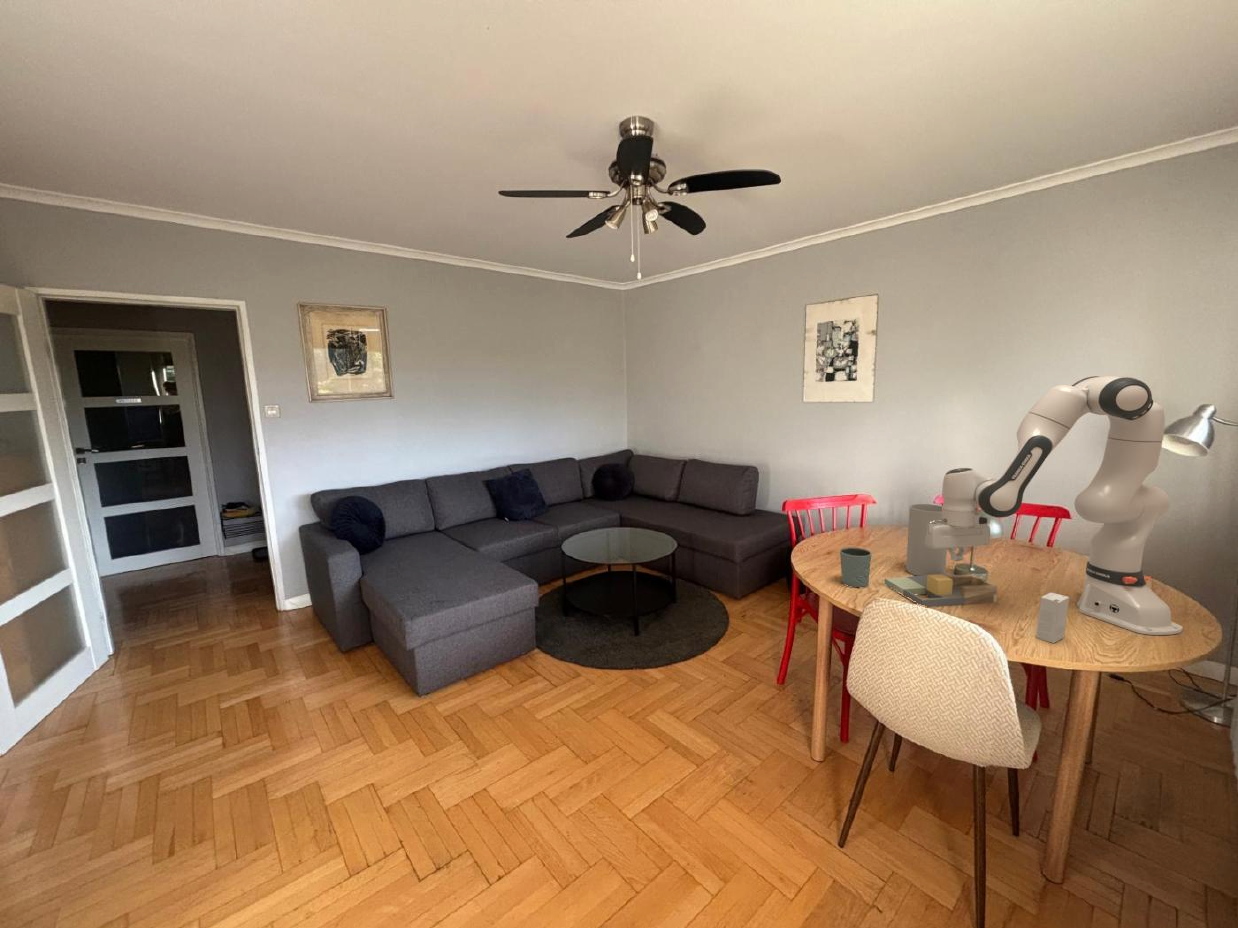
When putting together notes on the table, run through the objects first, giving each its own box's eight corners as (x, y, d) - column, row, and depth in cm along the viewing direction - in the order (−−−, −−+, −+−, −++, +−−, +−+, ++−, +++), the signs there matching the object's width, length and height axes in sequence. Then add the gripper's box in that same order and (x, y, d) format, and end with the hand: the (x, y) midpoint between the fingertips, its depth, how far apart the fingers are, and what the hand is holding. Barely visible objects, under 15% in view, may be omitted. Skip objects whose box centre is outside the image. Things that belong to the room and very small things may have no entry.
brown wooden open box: (996, 601, 159) (997, 586, 158) (964, 604, 158) (965, 588, 157) (970, 589, 169) (971, 574, 169) (940, 591, 168) (941, 576, 168)
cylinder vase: (906, 565, 194) (909, 502, 190) (944, 569, 188) (948, 505, 184) (906, 575, 183) (909, 510, 179) (946, 581, 177) (950, 513, 173)
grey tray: (996, 601, 159) (996, 594, 159) (921, 607, 157) (922, 600, 156) (951, 579, 178) (951, 573, 177) (884, 584, 175) (884, 578, 175)
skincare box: (1045, 631, 139) (1049, 591, 138) (1065, 638, 135) (1070, 596, 134) (1034, 637, 136) (1038, 596, 135) (1055, 644, 133) (1059, 601, 131)
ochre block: (951, 594, 160) (952, 579, 159) (937, 595, 160) (938, 580, 159) (940, 588, 165) (941, 574, 164) (926, 589, 165) (927, 574, 164)
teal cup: (873, 589, 172) (875, 556, 170) (842, 588, 174) (843, 555, 172) (865, 578, 181) (866, 547, 180) (836, 577, 183) (837, 546, 182)
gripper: (935, 522, 155) (934, 565, 156) (994, 518, 157) (993, 560, 158) (920, 518, 161) (920, 559, 163) (978, 514, 163) (977, 555, 165)
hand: (956, 560), depth 161 cm, fingers closed
